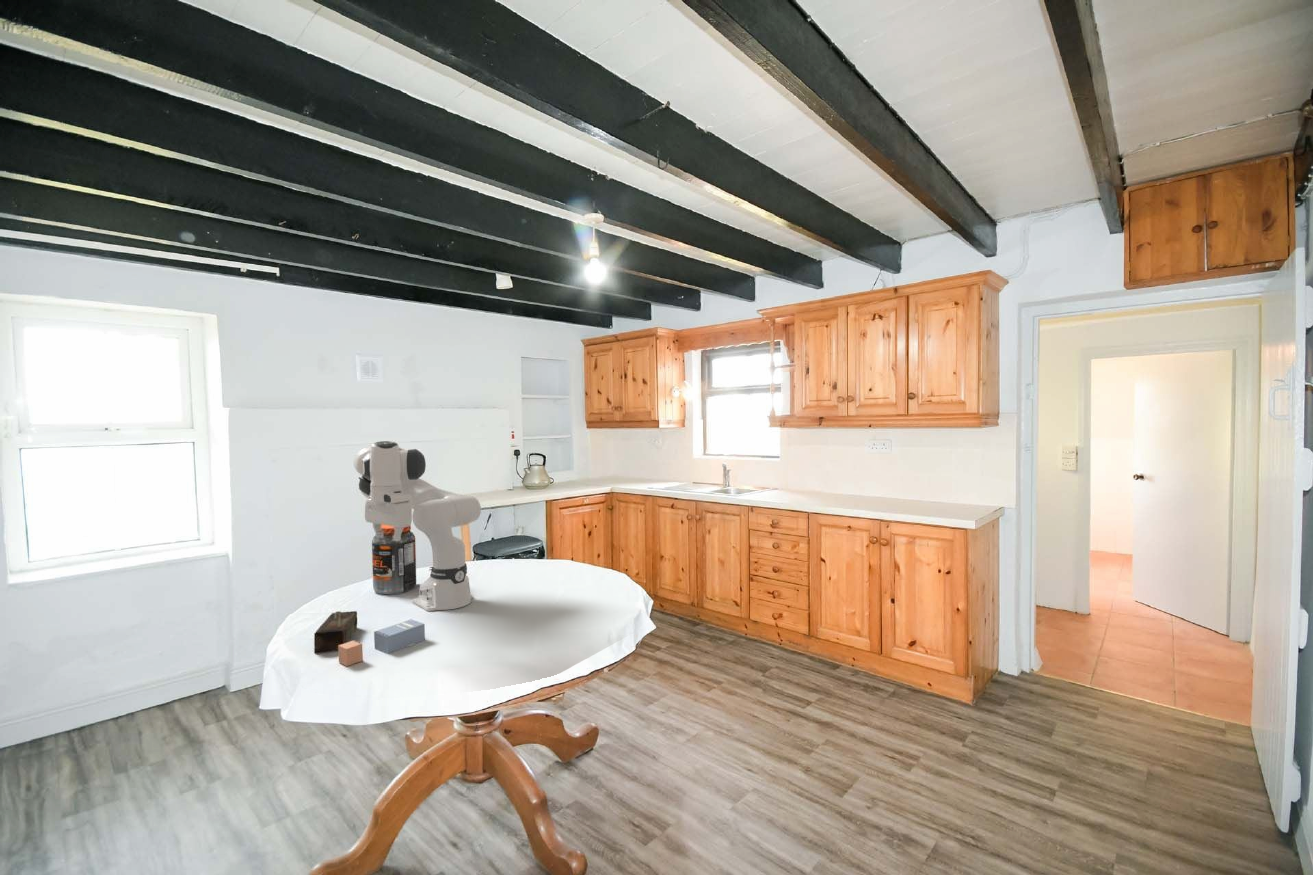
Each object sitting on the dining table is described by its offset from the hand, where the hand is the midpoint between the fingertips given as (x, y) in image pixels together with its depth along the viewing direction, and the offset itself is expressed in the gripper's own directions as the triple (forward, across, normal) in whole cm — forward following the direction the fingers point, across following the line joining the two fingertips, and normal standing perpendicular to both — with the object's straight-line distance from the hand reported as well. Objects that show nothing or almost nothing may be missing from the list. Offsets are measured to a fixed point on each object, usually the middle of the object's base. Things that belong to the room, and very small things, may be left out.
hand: (388, 539), depth 175 cm
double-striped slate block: (+31, +6, -1) cm, 32 cm away
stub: (+31, +6, -16) cm, 35 cm away
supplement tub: (+31, -46, +29) cm, 63 cm away
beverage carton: (+32, -13, -10) cm, 36 cm away
